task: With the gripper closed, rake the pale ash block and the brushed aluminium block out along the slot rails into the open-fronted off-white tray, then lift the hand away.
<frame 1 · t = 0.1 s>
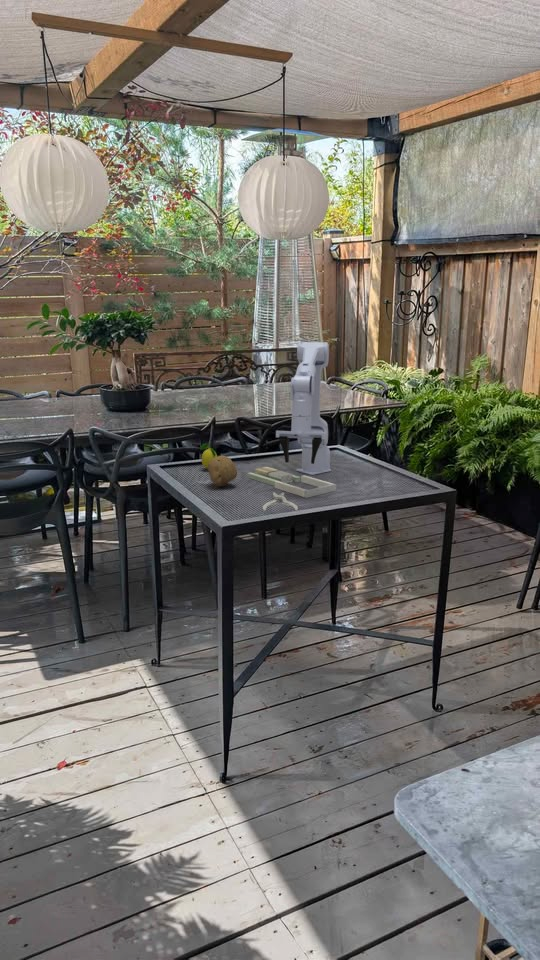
hand: (299, 462, 207), 11 cm above the table, tool pointing down, fingers open, 7 cm apart
aluminium block: (280, 482, 227), on the table
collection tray: (304, 488, 218), on the table
slot rails: (273, 479, 229), on the table
ash block: (266, 478, 232), on the table
lemon: (209, 470, 241), on the table
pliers: (279, 505, 204), on the table
brown potato: (222, 487, 221), on the table
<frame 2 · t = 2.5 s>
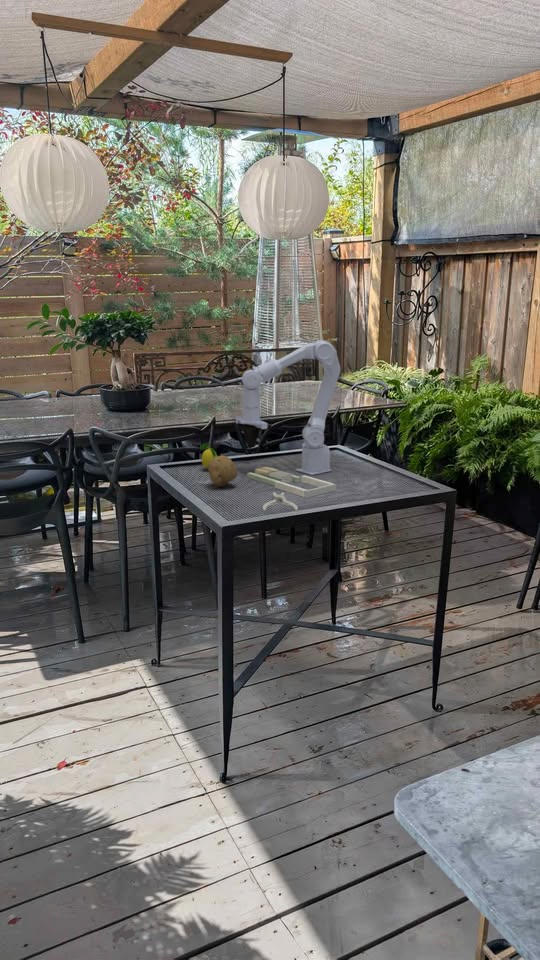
hand: (251, 447, 235), 9 cm above the table, tool pointing down, fingers closed
nothing on the table moved.
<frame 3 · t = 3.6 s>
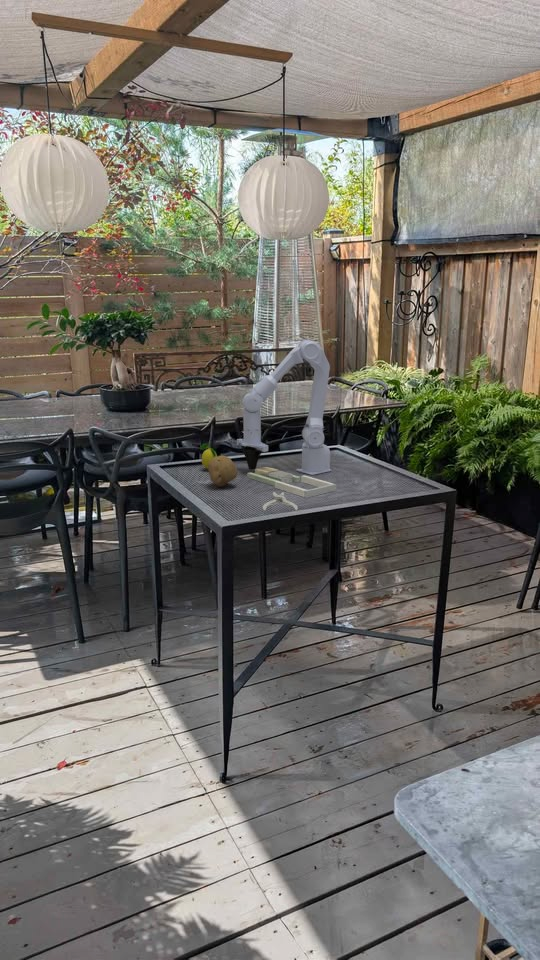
hand: (252, 468, 237), 1 cm above the table, tool pointing down, fingers closed
nothing on the table moved.
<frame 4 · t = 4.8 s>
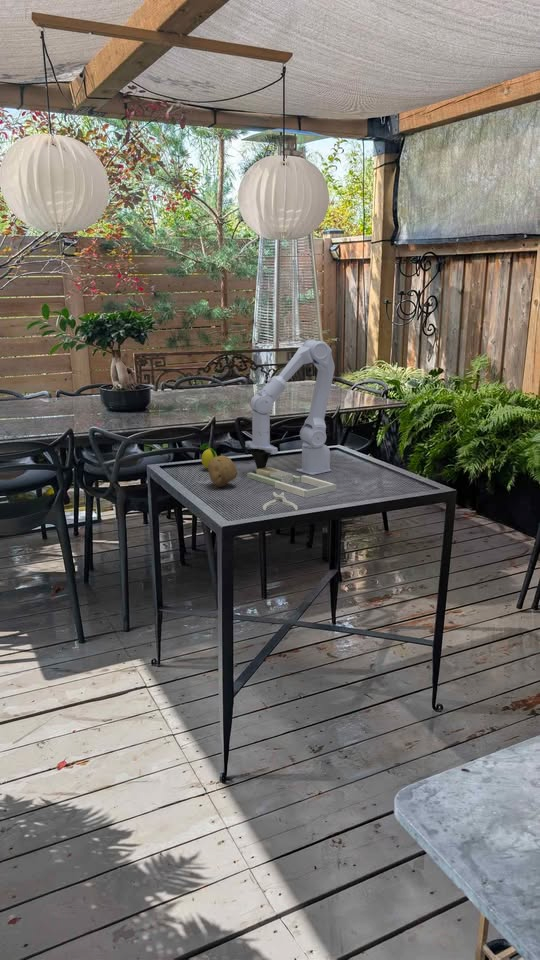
hand: (261, 471, 234), 1 cm above the table, tool pointing down, fingers closed
ash block: (268, 478, 231), on the table, touching gripper
everything else where it was.
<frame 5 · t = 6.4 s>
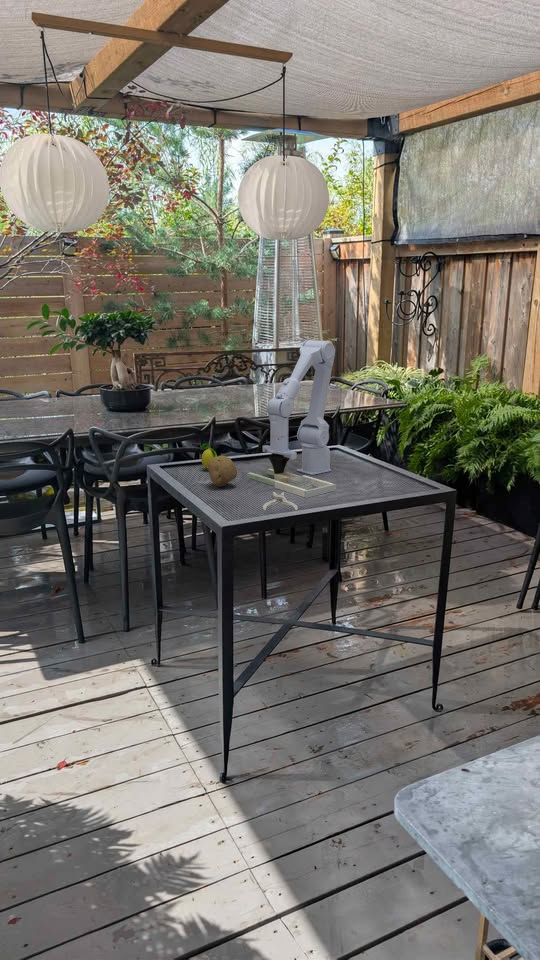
hand: (279, 477, 227), 1 cm above the table, tool pointing down, fingers closed
aluminium block: (299, 488, 220), on the table
ash block: (286, 483, 224), on the table, touching gripper
everything else where it was.
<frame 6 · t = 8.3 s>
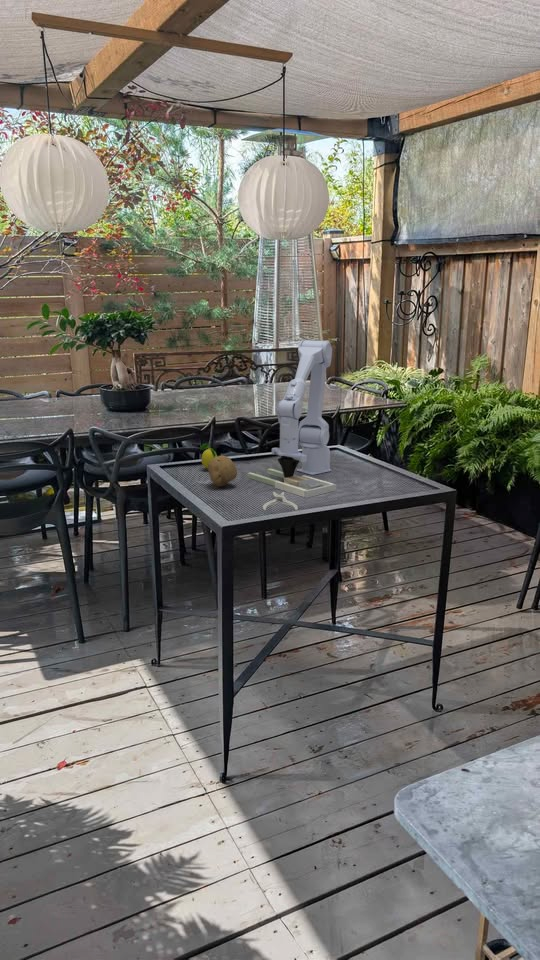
hand: (288, 479, 223), 1 cm above the table, tool pointing down, fingers closed
aluminium block: (310, 491, 216), on the table
ash block: (296, 487, 220), on the table
everything else where it was.
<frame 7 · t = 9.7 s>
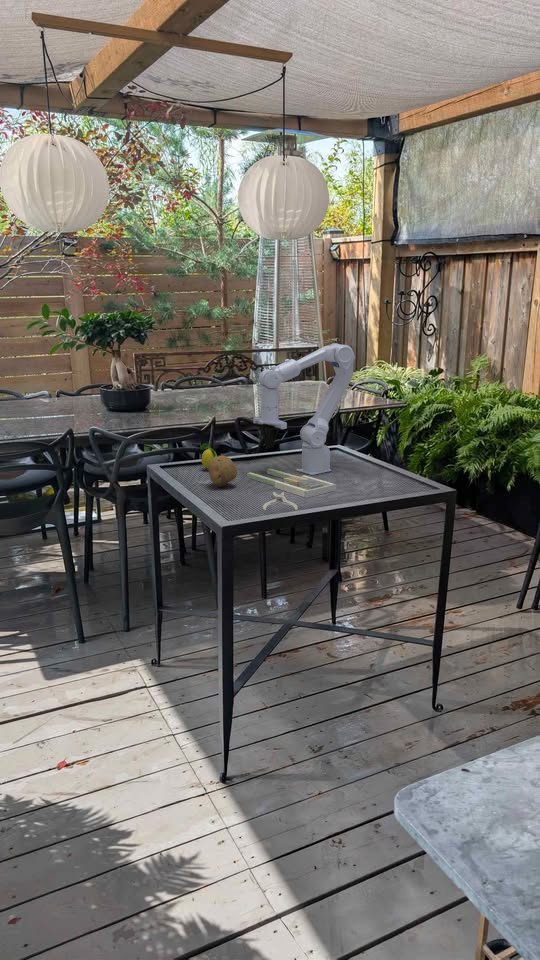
hand: (269, 447, 233), 9 cm above the table, tool pointing down, fingers closed
nothing on the table moved.
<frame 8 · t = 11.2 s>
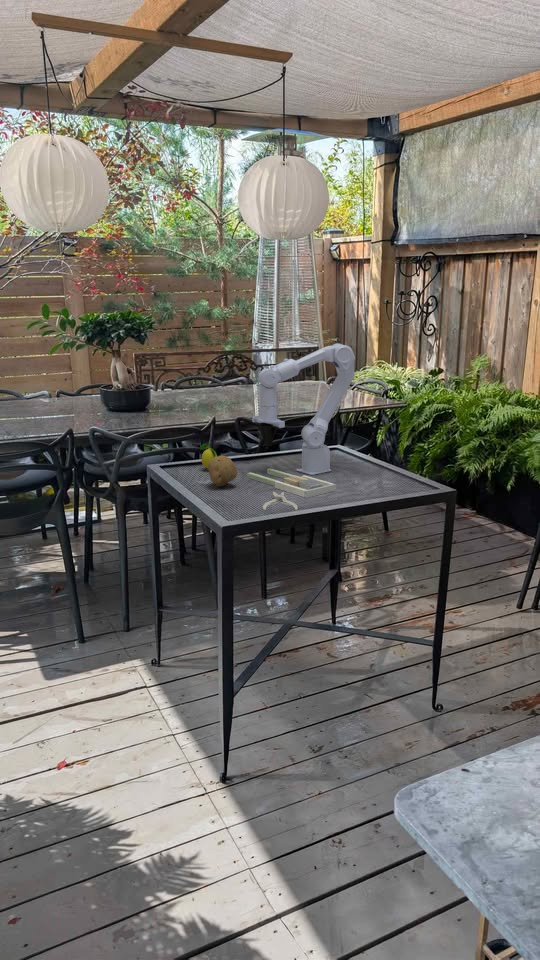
hand: (268, 445, 235), 9 cm above the table, tool pointing down, fingers closed
nothing on the table moved.
at the end: ash block inside the target area (3.0 cm from its centre), on the table; aluminium block inside the target area (3.1 cm from its centre), on the table; ash block tilted 0° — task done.
